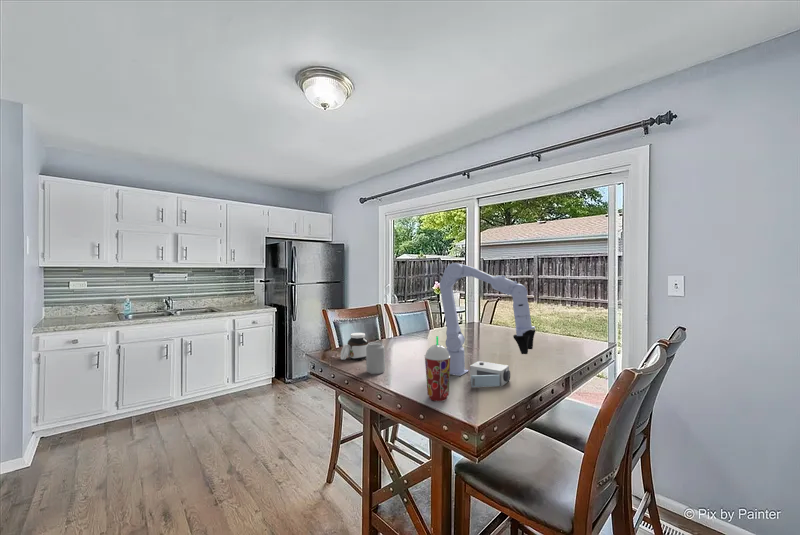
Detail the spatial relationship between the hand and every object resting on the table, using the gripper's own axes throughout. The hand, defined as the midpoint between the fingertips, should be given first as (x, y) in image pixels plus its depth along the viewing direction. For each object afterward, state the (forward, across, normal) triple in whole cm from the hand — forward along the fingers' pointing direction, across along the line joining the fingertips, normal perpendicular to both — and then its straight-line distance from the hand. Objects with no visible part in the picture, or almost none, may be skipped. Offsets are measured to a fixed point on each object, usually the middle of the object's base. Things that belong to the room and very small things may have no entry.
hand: (527, 351), depth 129 cm
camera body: (+9, -10, +12) cm, 18 cm away
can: (+4, -24, +55) cm, 60 cm away
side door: (+8, -18, +10) cm, 22 cm away
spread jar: (+2, -13, +76) cm, 77 cm away
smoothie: (+7, -36, +20) cm, 42 cm away
